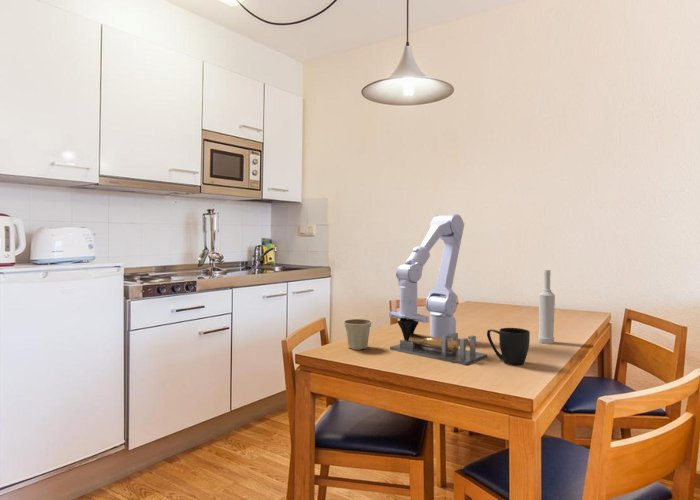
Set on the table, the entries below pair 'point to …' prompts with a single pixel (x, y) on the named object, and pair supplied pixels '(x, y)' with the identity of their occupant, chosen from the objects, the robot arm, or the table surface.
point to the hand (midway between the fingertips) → (408, 342)
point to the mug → (512, 345)
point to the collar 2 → (463, 346)
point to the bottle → (546, 312)
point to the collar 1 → (445, 341)
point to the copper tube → (433, 342)
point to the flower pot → (357, 333)
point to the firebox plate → (437, 353)
